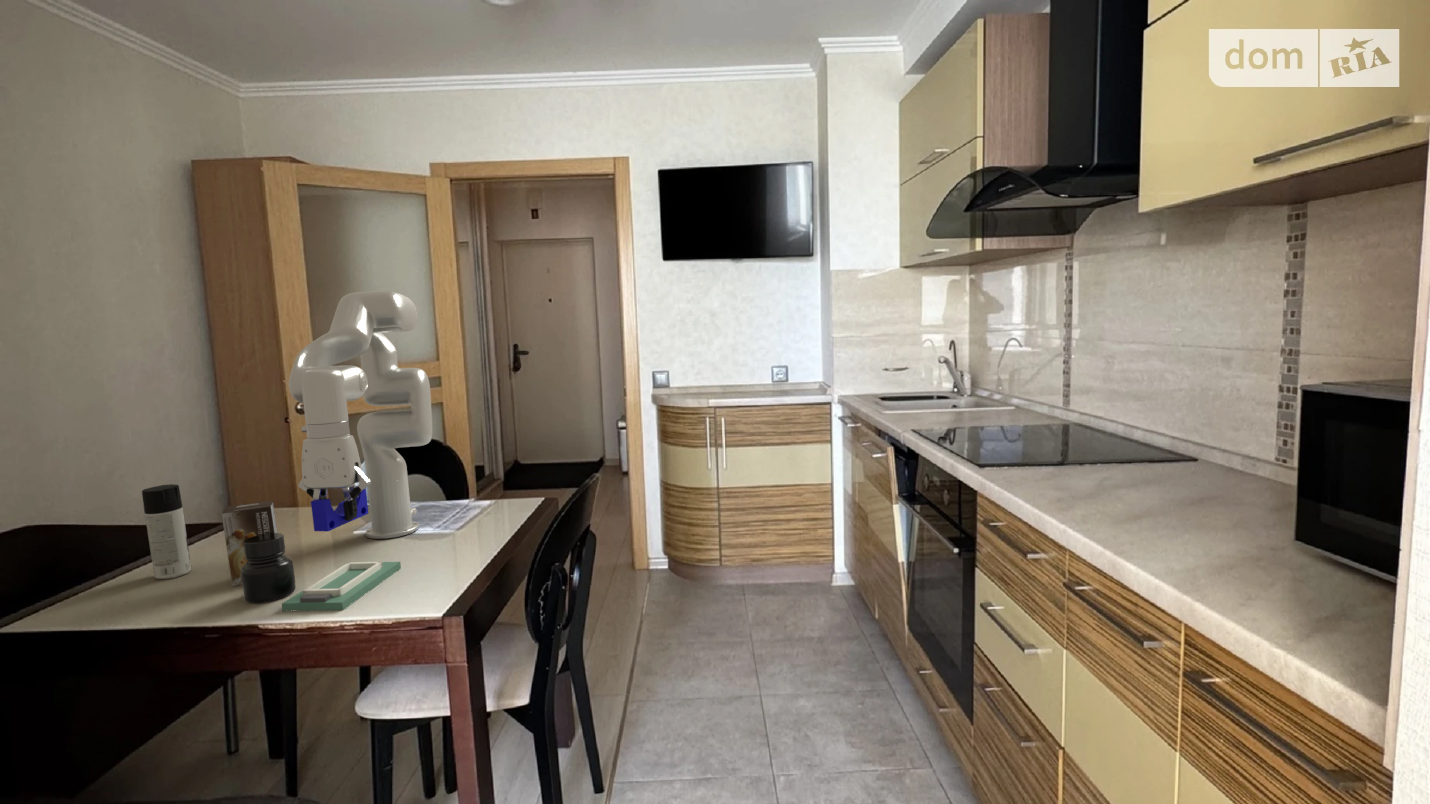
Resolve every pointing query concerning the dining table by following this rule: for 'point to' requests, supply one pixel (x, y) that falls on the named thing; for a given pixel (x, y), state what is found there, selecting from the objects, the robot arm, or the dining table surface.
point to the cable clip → (335, 512)
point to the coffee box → (245, 531)
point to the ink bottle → (267, 569)
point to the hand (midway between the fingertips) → (338, 518)
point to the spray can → (166, 531)
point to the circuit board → (342, 586)
